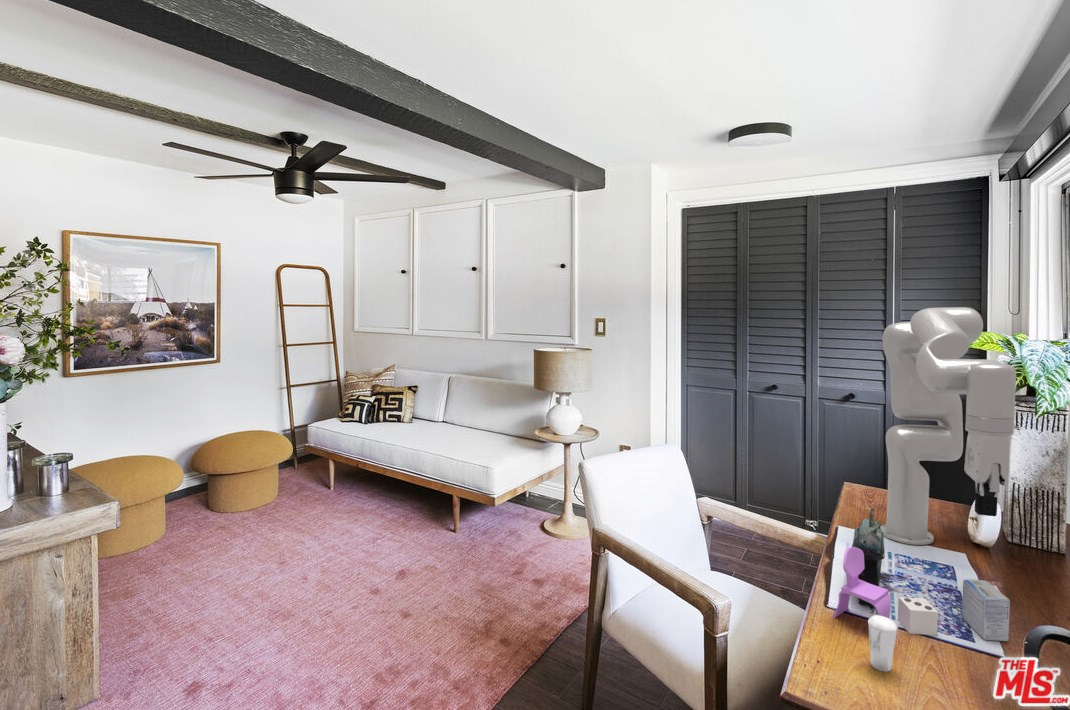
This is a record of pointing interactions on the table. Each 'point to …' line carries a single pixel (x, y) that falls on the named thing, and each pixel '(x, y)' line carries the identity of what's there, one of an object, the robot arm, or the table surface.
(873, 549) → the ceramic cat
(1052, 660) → the table surface
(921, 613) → the dotted block three
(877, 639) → the milkshake
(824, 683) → the table surface
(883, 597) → the toy chair
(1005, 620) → the medicine box
